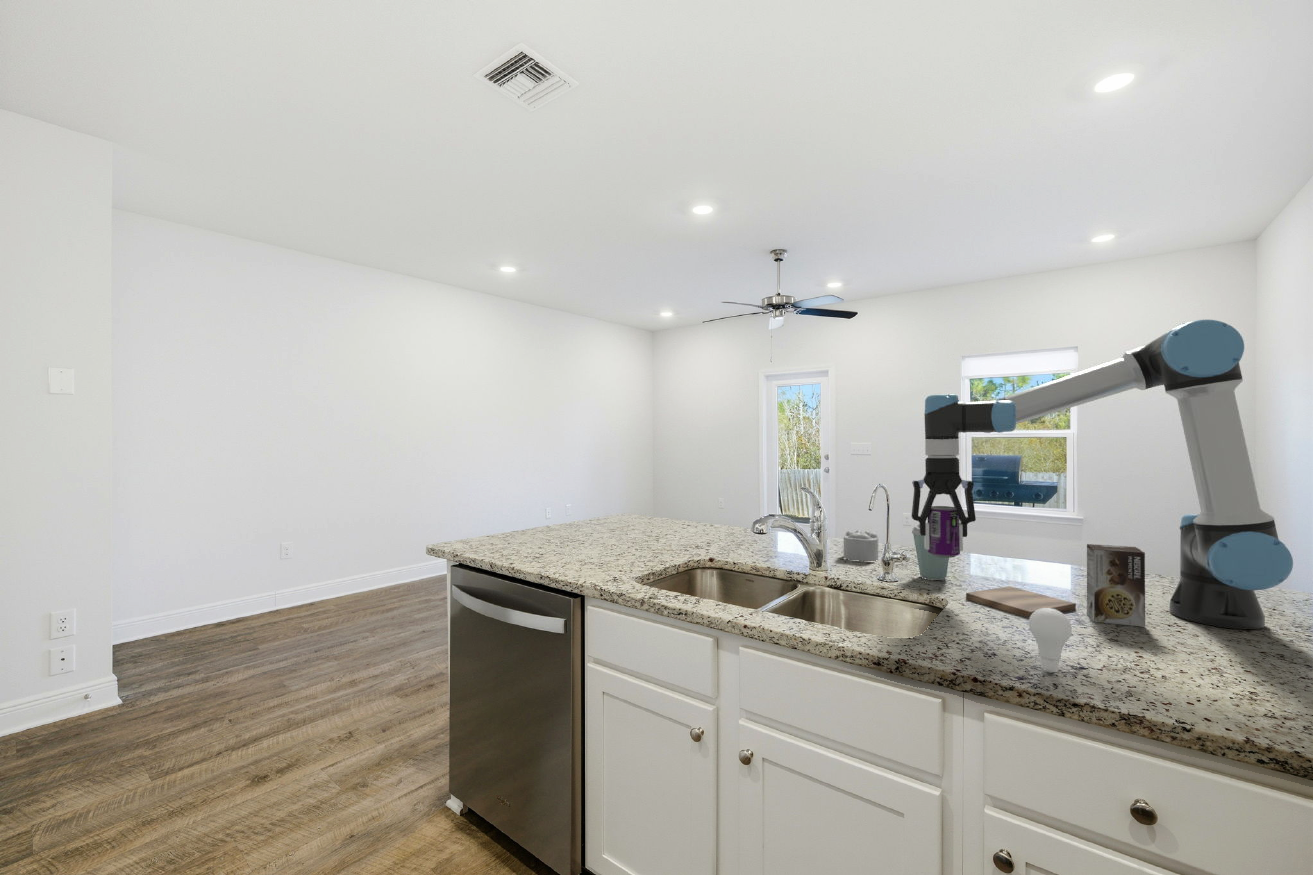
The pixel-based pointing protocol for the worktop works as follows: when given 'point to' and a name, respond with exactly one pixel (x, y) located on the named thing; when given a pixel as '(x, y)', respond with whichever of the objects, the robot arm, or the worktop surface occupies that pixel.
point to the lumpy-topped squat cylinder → (861, 546)
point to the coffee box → (1116, 584)
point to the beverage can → (944, 531)
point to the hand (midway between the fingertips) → (943, 549)
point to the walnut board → (1018, 600)
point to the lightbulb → (1050, 635)
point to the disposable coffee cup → (928, 559)
